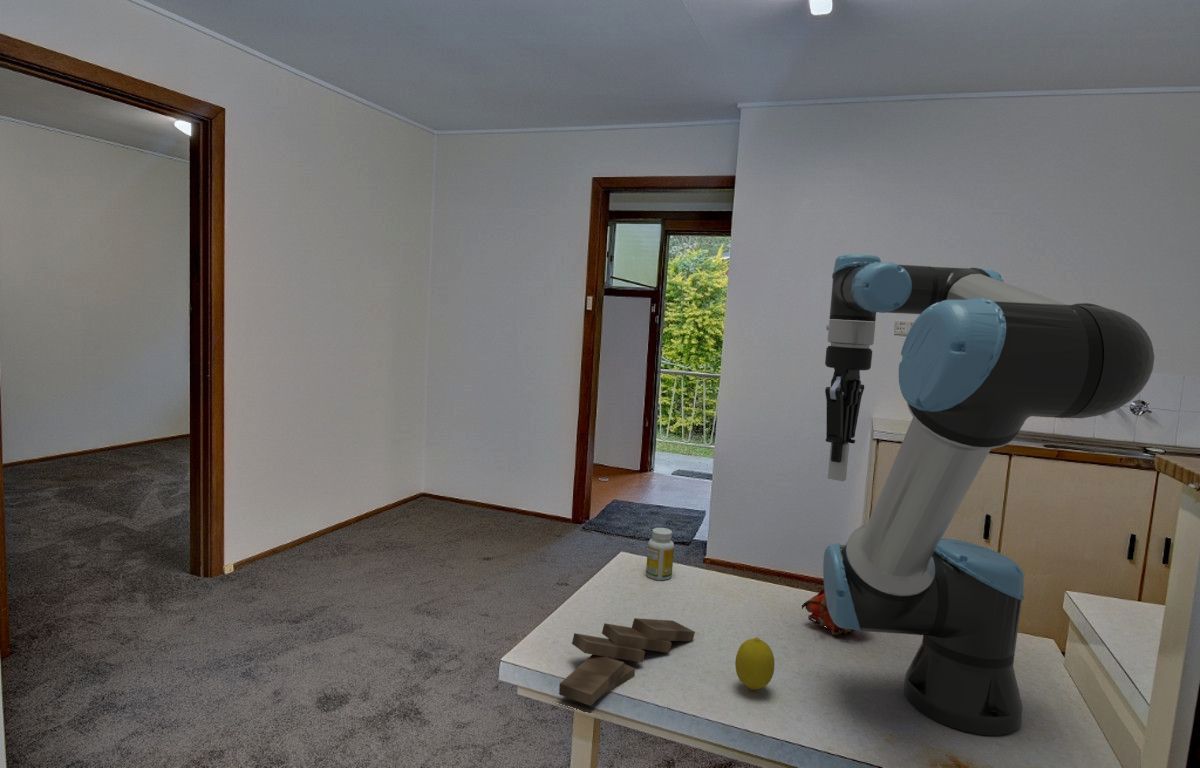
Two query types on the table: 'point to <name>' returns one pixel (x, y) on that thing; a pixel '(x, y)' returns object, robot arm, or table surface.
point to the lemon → (755, 663)
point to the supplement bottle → (660, 555)
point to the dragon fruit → (823, 614)
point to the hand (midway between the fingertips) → (836, 479)
